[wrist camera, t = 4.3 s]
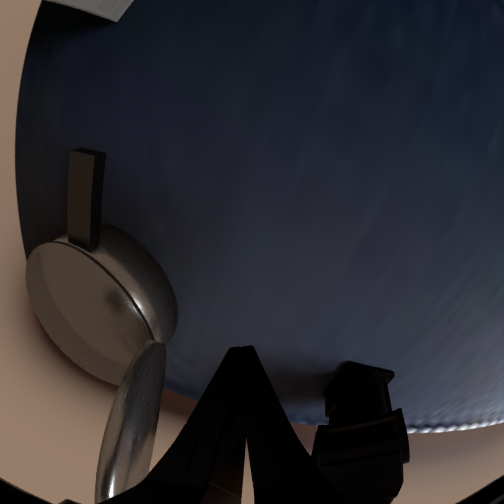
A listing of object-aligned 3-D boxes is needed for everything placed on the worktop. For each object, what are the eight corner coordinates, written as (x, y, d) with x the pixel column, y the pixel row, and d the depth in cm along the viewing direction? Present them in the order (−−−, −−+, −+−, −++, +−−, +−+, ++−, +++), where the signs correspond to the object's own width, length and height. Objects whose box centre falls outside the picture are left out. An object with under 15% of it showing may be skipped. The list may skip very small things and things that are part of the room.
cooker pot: (211, 167, 21) (177, 182, 15) (173, 370, 32) (154, 406, 27) (60, 133, 22) (15, 143, 16) (67, 316, 33) (42, 342, 27)
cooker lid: (160, 289, 19) (174, 292, 19) (154, 407, 27) (162, 409, 27) (71, 548, 3) (96, 558, 3) (124, 542, 11) (135, 545, 11)
